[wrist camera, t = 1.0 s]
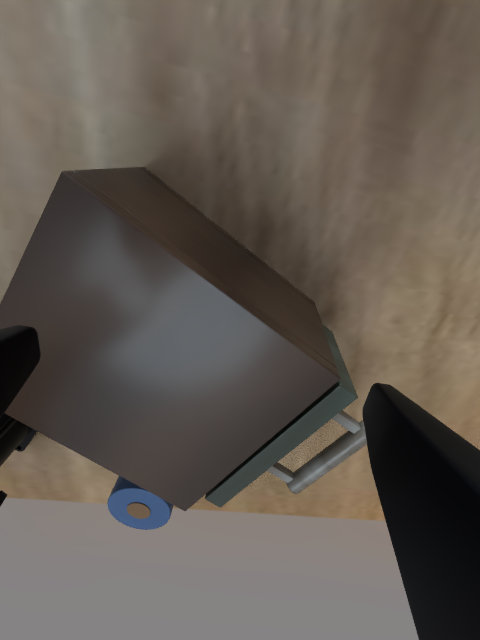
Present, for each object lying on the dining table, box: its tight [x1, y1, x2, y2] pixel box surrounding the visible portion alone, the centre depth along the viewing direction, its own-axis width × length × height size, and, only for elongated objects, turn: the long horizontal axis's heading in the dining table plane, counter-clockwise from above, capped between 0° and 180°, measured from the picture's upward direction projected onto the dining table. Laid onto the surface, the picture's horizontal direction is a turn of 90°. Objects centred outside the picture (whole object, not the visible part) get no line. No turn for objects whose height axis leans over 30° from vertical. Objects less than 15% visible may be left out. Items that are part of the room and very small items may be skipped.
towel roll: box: [108, 476, 173, 530], centre depth 27 cm, size 5×5×6 cm
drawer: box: [205, 324, 367, 507], centre depth 20 cm, size 17×11×7 cm, turn 52°
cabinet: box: [0, 167, 340, 511], centre depth 19 cm, size 14×13×9 cm
